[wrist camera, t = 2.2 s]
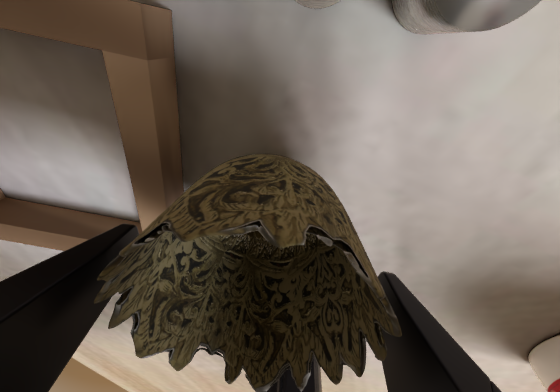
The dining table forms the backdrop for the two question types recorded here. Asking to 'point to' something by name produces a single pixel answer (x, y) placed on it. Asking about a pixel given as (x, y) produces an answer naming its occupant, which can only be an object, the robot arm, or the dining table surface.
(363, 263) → the ornate brass lampshade
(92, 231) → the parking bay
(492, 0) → the spacer posts
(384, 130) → the dining table surface
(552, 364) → the white plastic bottle
